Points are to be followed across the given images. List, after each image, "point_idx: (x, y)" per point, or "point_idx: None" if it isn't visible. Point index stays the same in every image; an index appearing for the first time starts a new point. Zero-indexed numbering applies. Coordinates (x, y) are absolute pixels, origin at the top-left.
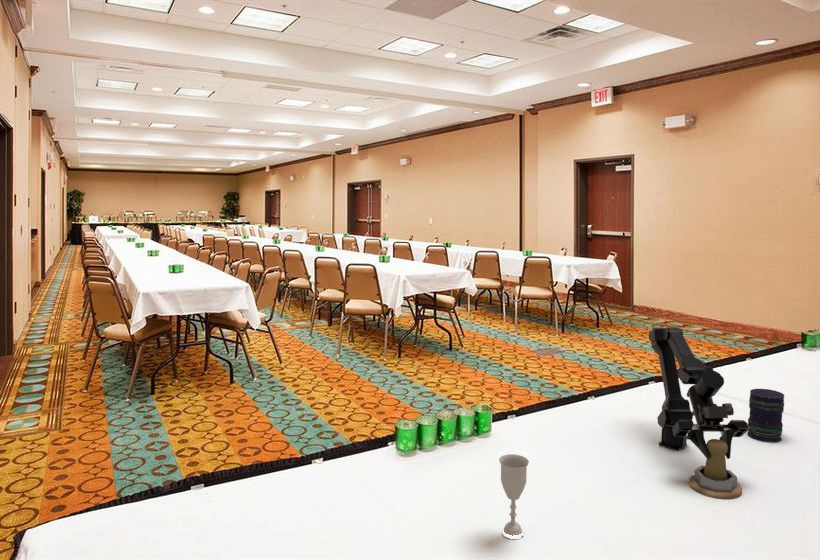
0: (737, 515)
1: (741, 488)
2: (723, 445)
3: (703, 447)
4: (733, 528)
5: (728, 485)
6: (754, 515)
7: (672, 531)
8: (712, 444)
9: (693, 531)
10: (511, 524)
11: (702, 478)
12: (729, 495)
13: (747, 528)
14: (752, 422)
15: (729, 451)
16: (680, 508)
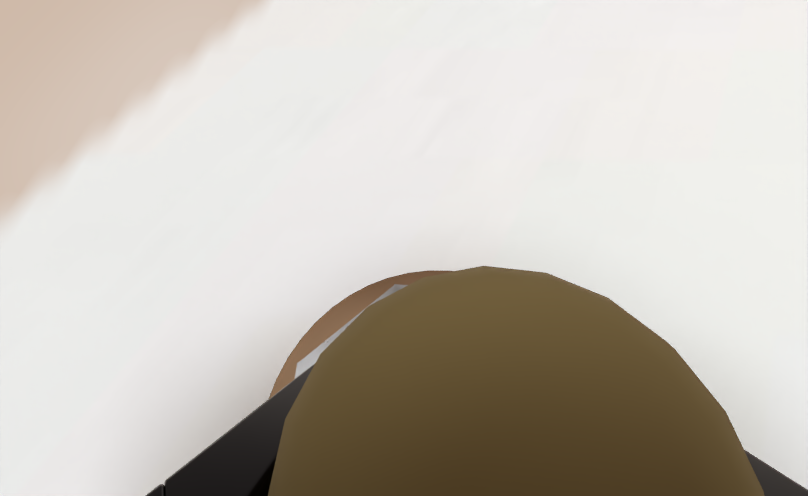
0: (471, 127)
1: (291, 362)
2: (447, 286)
3: (802, 489)
4: (540, 43)
5: None
6: (390, 126)
7: (802, 28)
8: (691, 373)
9: (714, 27)
10: None
11: None
12: (427, 271)
13: (481, 43)
14: None
15: (282, 403)
16: (741, 189)
